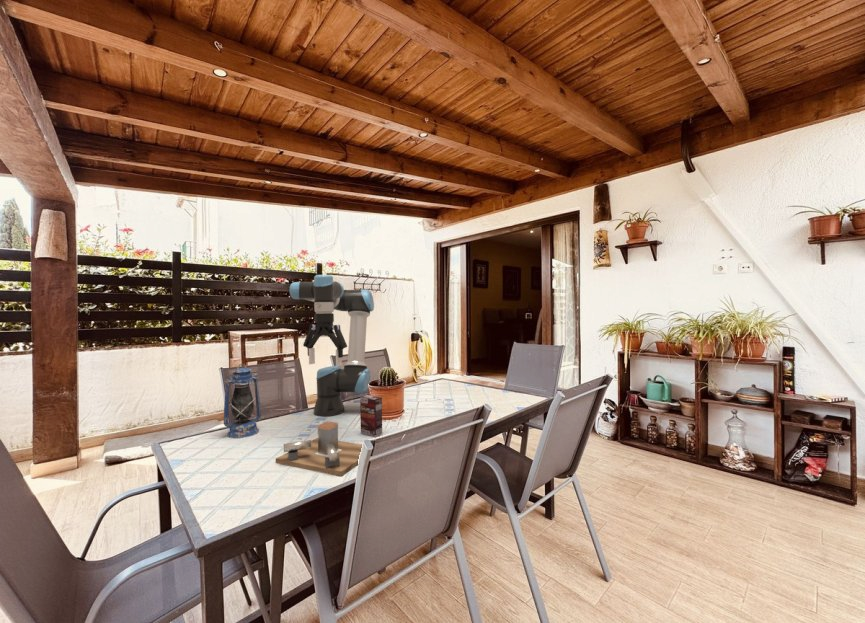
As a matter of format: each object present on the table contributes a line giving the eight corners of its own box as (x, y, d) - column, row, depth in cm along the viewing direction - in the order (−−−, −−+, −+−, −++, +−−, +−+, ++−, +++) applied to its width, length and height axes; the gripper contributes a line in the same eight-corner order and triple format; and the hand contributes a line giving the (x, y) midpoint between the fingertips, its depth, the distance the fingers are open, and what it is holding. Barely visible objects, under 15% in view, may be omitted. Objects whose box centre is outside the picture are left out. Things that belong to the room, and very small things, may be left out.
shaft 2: (323, 459, 129) (323, 444, 129) (336, 457, 131) (336, 442, 131) (326, 470, 121) (326, 454, 121) (340, 468, 122) (340, 451, 122)
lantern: (230, 441, 152) (228, 368, 151) (218, 434, 160) (216, 365, 159) (267, 431, 164) (265, 363, 163) (255, 425, 172) (253, 360, 171)
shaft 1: (310, 453, 135) (310, 438, 135) (311, 457, 131) (311, 442, 131) (283, 457, 132) (283, 442, 132) (283, 462, 128) (283, 446, 128)
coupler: (327, 448, 139) (326, 421, 139) (338, 449, 137) (337, 422, 137) (318, 453, 134) (317, 425, 134) (329, 455, 132) (329, 427, 132)
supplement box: (360, 434, 159) (359, 396, 159) (367, 430, 163) (367, 394, 163) (375, 437, 154) (375, 399, 154) (383, 434, 158) (382, 396, 158)
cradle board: (317, 441, 151) (317, 436, 151) (377, 450, 140) (377, 446, 140) (275, 462, 131) (275, 457, 131) (341, 476, 120) (341, 470, 120)
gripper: (293, 313, 153) (294, 364, 154) (343, 313, 144) (344, 367, 144) (306, 312, 160) (307, 361, 161) (355, 312, 151) (356, 364, 151)
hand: (325, 364), depth 152 cm, fingers open, 13 cm apart
